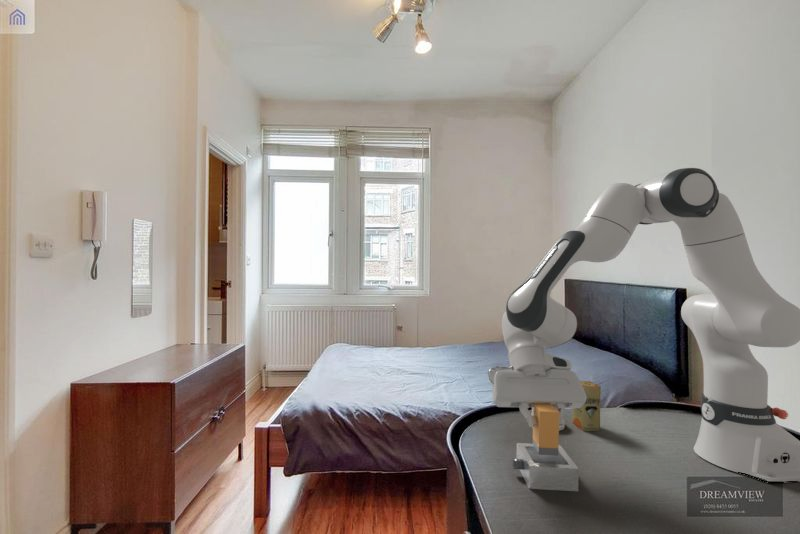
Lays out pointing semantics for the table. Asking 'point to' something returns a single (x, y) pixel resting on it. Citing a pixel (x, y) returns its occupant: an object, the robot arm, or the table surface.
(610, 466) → the table surface
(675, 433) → the table surface
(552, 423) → the plug
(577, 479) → the white shallow box
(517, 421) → the table surface
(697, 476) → the table surface
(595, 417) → the shoe polish box
